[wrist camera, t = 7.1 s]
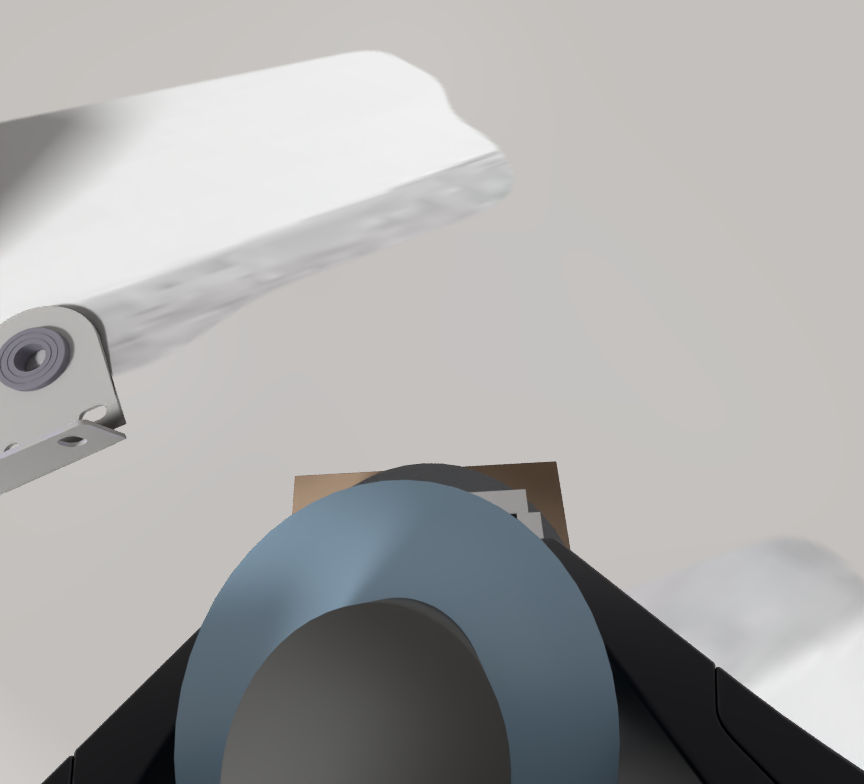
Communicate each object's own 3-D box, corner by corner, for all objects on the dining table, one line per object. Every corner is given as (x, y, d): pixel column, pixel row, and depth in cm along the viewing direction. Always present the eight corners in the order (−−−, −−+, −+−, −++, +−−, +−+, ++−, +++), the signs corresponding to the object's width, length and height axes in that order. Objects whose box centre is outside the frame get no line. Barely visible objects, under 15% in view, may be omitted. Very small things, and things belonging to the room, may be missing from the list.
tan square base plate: (600, 781, 17) (665, 865, 12) (281, 798, 17) (212, 888, 12) (551, 466, 22) (583, 430, 17) (301, 480, 22) (257, 449, 17)
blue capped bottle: (538, 645, 14) (893, 876, 3) (409, 758, 13) (182, 1798, 2) (444, 515, 15) (440, 337, 4) (323, 606, 14) (-71, 669, 3)
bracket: (94, 298, 27) (47, 260, 24) (133, 444, 23) (84, 422, 20) (-23, 344, 26) (-88, 310, 23) (-1, 504, 22) (-75, 491, 19)
